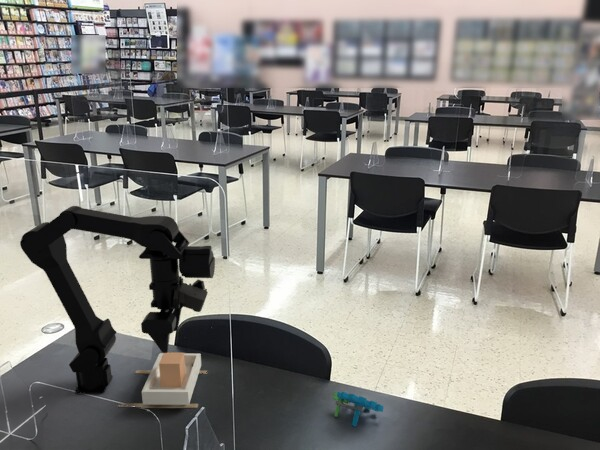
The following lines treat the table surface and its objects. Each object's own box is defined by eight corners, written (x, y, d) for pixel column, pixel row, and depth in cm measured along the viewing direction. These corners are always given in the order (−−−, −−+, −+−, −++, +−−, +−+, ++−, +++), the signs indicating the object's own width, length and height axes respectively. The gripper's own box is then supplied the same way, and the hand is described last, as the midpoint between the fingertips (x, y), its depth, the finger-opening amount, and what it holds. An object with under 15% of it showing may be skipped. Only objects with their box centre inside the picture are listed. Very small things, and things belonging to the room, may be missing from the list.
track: (117, 407, 109) (117, 406, 109) (136, 370, 122) (136, 370, 122) (197, 408, 110) (197, 407, 110) (207, 371, 123) (207, 370, 122)
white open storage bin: (143, 407, 109) (141, 391, 108) (160, 367, 123) (159, 353, 122) (189, 407, 109) (188, 392, 108) (201, 368, 123) (200, 353, 122)
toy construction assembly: (391, 408, 108) (374, 396, 100) (384, 437, 105) (366, 427, 98) (345, 396, 114) (326, 384, 107) (338, 423, 111) (318, 412, 104)
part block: (160, 387, 113) (158, 363, 111) (166, 375, 118) (164, 352, 116) (181, 387, 113) (179, 363, 111) (185, 375, 118) (183, 352, 116)
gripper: (194, 296, 99) (198, 365, 104) (210, 260, 117) (213, 321, 122) (137, 295, 99) (144, 365, 104) (162, 259, 117) (166, 320, 122)
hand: (170, 341), depth 113 cm, fingers open, 9 cm apart
